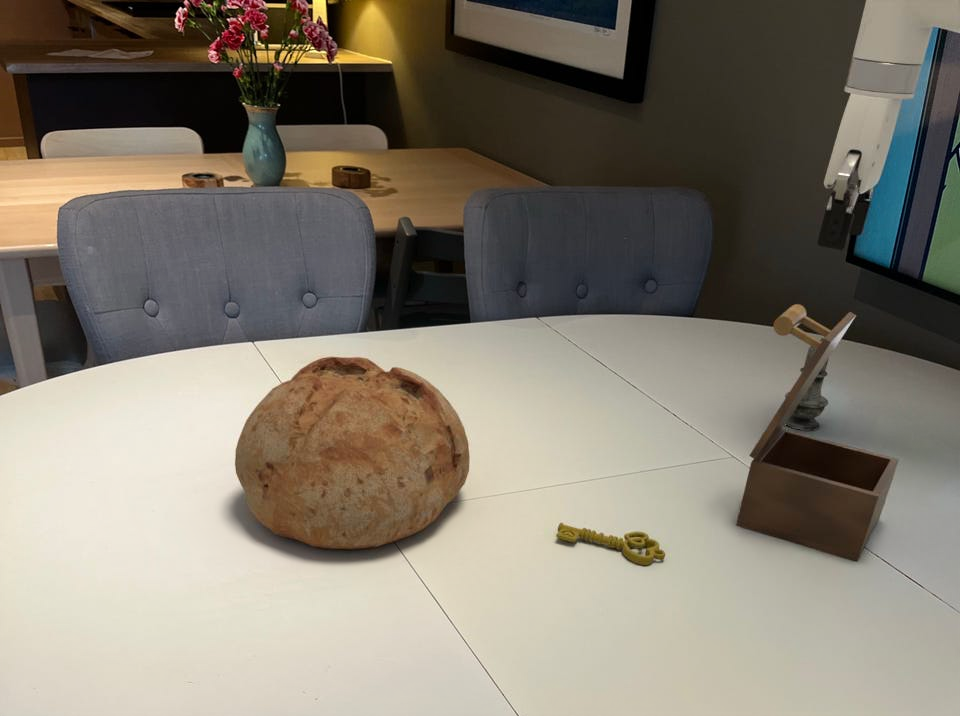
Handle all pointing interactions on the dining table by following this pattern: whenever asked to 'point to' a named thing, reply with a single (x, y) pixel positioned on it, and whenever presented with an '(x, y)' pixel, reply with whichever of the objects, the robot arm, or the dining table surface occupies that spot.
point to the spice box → (816, 493)
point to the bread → (351, 455)
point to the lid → (824, 349)
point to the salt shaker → (810, 400)
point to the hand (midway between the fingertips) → (839, 240)
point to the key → (617, 543)
